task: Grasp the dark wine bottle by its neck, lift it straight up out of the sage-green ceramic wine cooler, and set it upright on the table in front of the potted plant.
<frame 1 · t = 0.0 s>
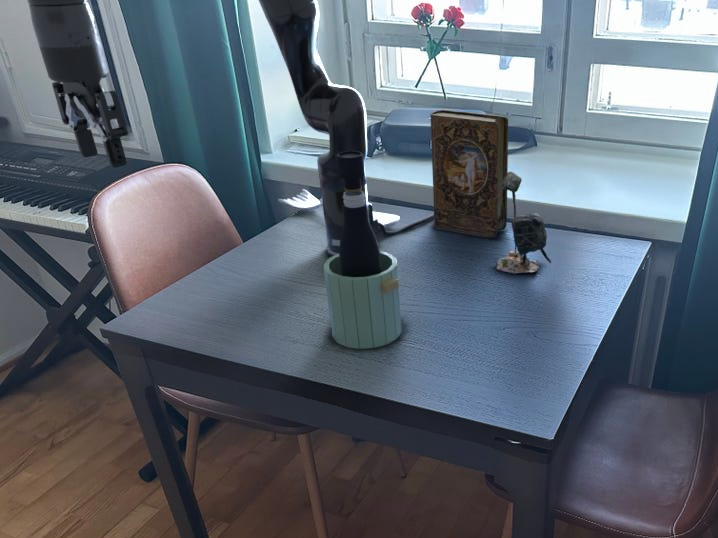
hand: (104, 160, 103), 29 cm above the table, tool pointing down, fingers open, 8 cm apart
wine bottle: (367, 332, 119), resting in wine cooler
wine cooler: (367, 331, 119), on the table
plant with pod: (522, 269, 140), on the table
serving fork: (341, 218, 165), on the table
book: (468, 230, 159), on the table
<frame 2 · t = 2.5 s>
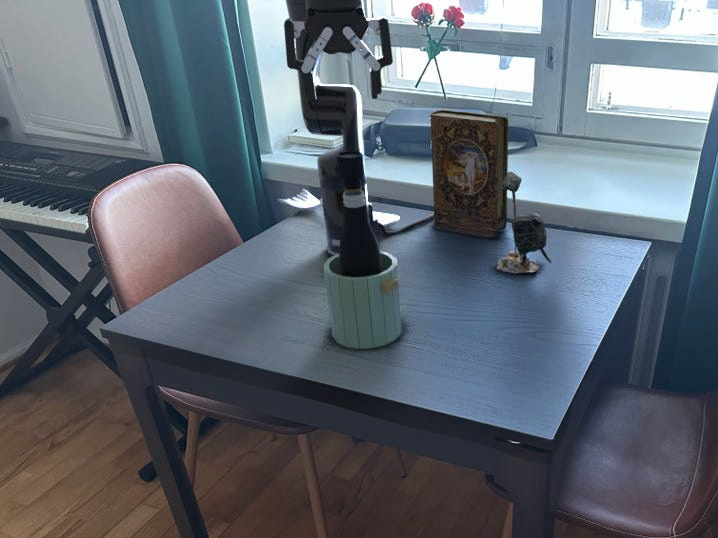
hand: (344, 99, 99), 38 cm above the table, tool pointing down, fingers open, 8 cm apart
nothing on the table moved.
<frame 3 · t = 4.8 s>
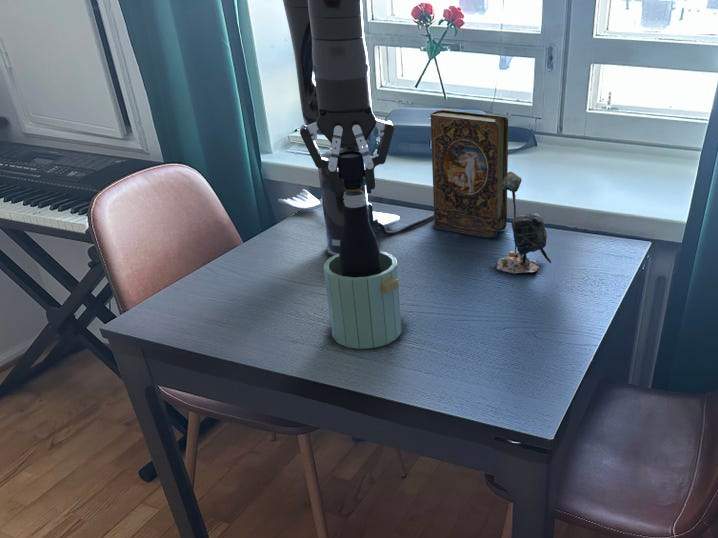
hand: (353, 192, 106), 24 cm above the table, tool pointing down, fingers closed on wine bottle, 4 cm apart
wine bottle: (367, 332, 119), resting in wine cooler, touching gripper
everything else where it was.
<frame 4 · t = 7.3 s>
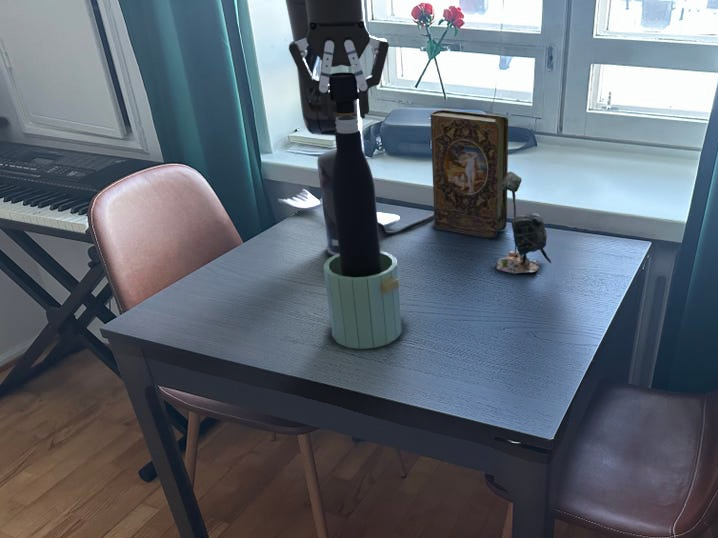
hand: (346, 117, 100), 35 cm above the table, tool pointing down, fingers closed on wine bottle, 4 cm apart
wine bottle: (361, 272, 113), point 11 cm above the table, touching gripper
everything else where it was.
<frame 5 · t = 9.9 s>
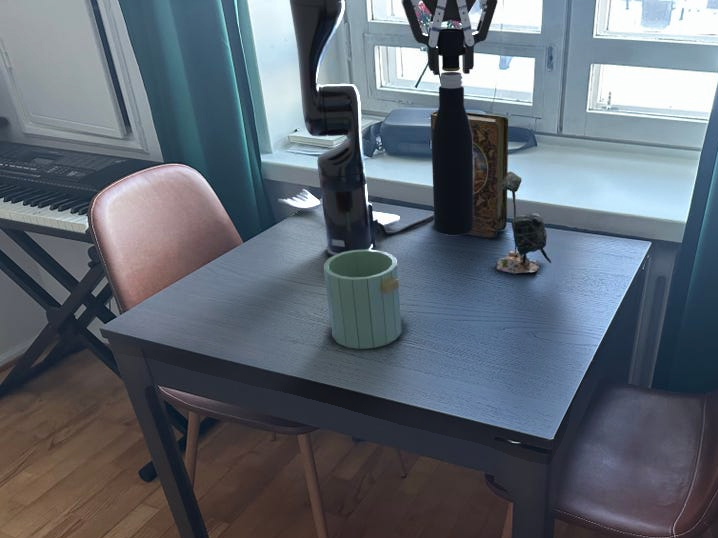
hand: (450, 72, 103), 40 cm above the table, tool pointing down, fingers closed on wine bottle, 4 cm apart
wine bottle: (454, 229, 116), point 16 cm above the table, touching gripper
everything else where it was.
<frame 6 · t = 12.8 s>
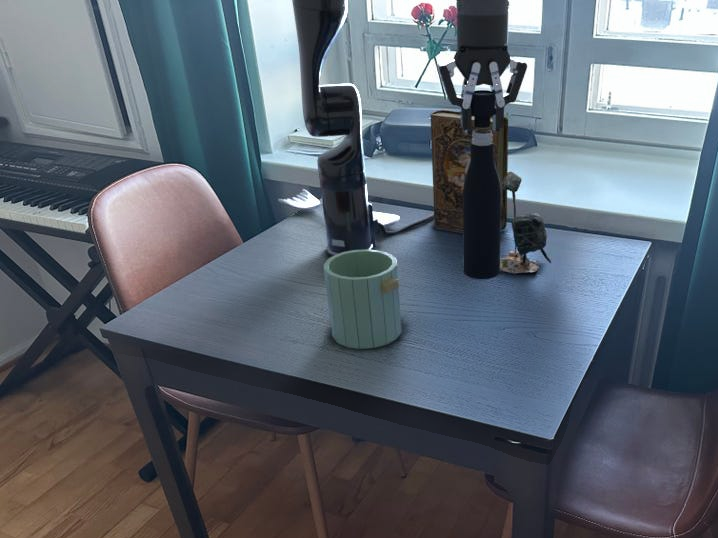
hand: (482, 131, 110), 31 cm above the table, tool pointing down, fingers closed on wine bottle, 4 cm apart
wine bottle: (481, 272, 123), point 7 cm above the table, touching gripper
everything else where it was.
when the fingers open (24 cm above the table, at t = 15.1 s): wine bottle stays where it is, on the table.
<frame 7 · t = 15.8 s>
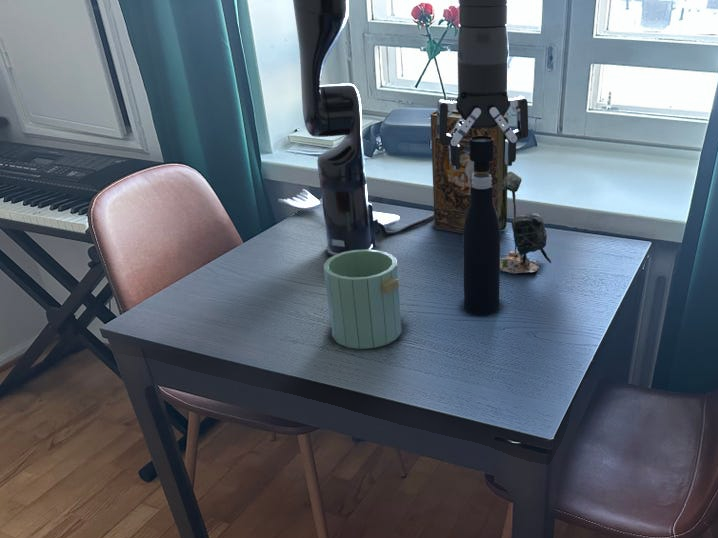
hand: (482, 166, 113), 26 cm above the table, tool pointing down, fingers open, 8 cm apart
wine bottle: (481, 308, 126), on the table
everything else where it was.
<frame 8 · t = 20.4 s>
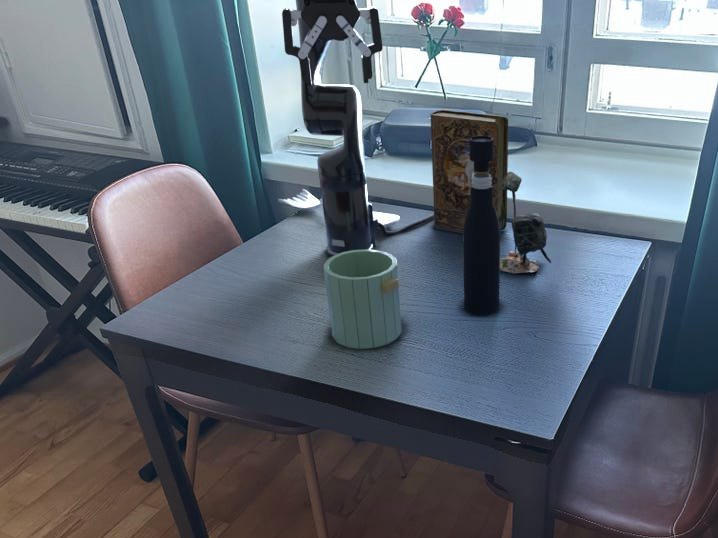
hand: (337, 83, 107), 38 cm above the table, tool pointing down, fingers open, 8 cm apart
nothing on the table moved.
at the end: wine bottle inside the target area (0.1 cm from its centre), on the table; wine bottle tilted 0°; the gripper is holding nothing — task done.
